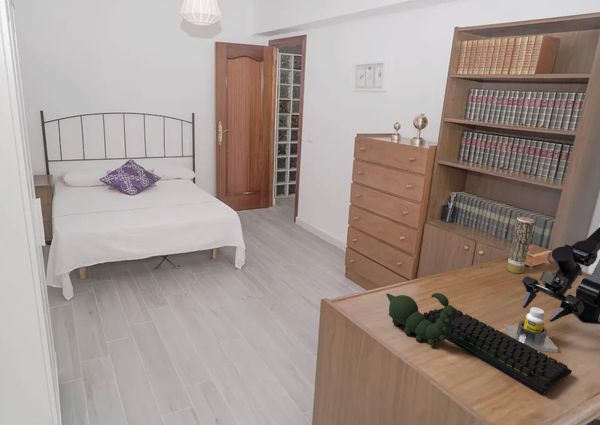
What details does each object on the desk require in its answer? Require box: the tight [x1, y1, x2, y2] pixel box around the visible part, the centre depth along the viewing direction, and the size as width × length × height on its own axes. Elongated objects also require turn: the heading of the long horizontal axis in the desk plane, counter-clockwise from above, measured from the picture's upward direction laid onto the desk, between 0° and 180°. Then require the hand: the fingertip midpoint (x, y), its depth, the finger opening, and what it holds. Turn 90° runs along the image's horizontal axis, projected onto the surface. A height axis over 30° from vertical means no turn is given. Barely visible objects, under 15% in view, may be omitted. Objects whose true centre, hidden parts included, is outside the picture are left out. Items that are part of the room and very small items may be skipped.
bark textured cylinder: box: [506, 216, 535, 275], centre depth 192 cm, size 7×7×25 cm
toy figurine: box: [386, 292, 458, 346], centre depth 139 cm, size 9×19×25 cm
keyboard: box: [422, 307, 572, 396], centre depth 135 cm, size 42×16×5 cm, turn 36°
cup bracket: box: [504, 320, 559, 353], centre depth 141 cm, size 12×12×5 cm
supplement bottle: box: [523, 306, 546, 333], centre depth 140 cm, size 5×5×10 cm
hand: (536, 314), depth 139 cm, fingers open, 9 cm apart
